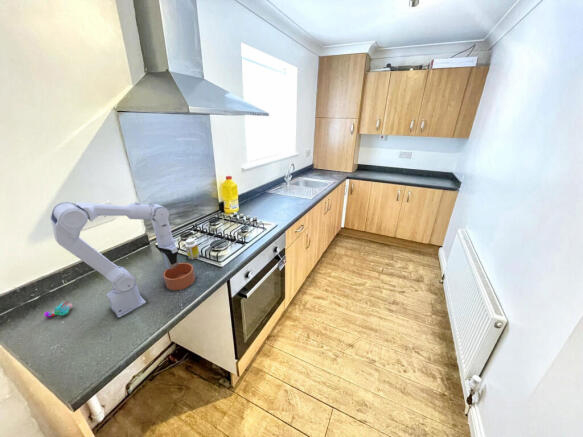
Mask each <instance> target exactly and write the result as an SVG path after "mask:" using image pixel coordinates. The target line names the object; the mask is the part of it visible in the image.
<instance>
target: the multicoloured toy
mask: <svg viewBox="0 0 583 437" xmlns="http://www.w3.org/2000/svg"><path fill="white" fill-rule="evenodd" d="M67 303H68V301H64V302H63V301H62V302H61V303H60V304H58V305H56V307H54V308H53V310H52V311H51V312H50V311H45V312H44V314H43V315H44V317H46V318H52V317H55V316H56V315H57V316H66V315H68V314H69V313H70V310H71V309H72V308H73V304H72V303H71V302H69V303H68V304H67Z"/></svg>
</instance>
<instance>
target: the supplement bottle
mask: <svg viewBox="0 0 583 437" xmlns="http://www.w3.org/2000/svg"><path fill="white" fill-rule="evenodd" d="M184 247H185V251H186V255H187V258H188V260H196V259H198V258H199V257H200V251H199V247H198V242H197V241H195V238H193V237H189V238H187V239H186V240H185V244H184Z"/></svg>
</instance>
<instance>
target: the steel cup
mask: <svg viewBox="0 0 583 437" xmlns="http://www.w3.org/2000/svg"><path fill="white" fill-rule="evenodd" d="M167 250H168V249H163V250H161V252H160V254H161V257H162V260H163V265H164V267H165V270H166V269H173V268H176V267H177V266H178V264H179V260H178V259H177V263H175V264H173V265H171V263H170V261H169V259H168V257H167V256H166V255H165V254H164V253H163V252H164V251H167Z"/></svg>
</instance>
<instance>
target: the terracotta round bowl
mask: <svg viewBox="0 0 583 437" xmlns="http://www.w3.org/2000/svg"><path fill="white" fill-rule="evenodd" d="M162 276H163V280H164V283H165V286H166V288H167V289H168V290H170V291H181V290H184V289H186V288H188V287H190V286H191V285H192V284H193V283H194V282H195V281H196V274H195V269H194V266H193V265H192V264H191V263H190V262H189V263H188V262H178V266H177V267H176V268H173V269H166V268H165V270H164V271H163V273H162Z"/></svg>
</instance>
